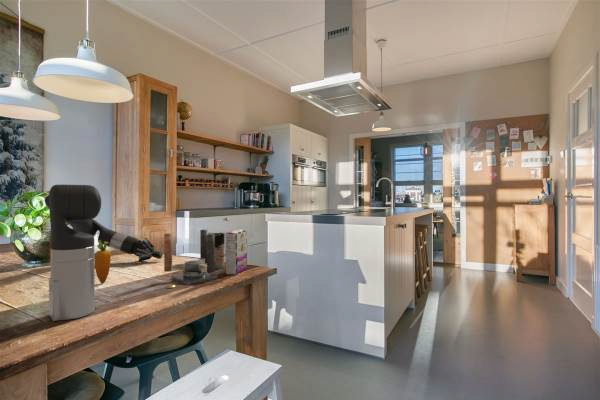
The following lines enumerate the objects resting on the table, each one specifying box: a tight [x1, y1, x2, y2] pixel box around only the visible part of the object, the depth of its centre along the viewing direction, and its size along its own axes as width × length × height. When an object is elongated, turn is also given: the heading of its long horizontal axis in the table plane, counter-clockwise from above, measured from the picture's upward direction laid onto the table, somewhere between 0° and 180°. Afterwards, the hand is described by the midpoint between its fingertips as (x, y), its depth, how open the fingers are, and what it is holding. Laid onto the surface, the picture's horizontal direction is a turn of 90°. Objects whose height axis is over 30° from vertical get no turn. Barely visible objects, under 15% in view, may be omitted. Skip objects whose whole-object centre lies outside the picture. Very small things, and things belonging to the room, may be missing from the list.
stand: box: [165, 270, 218, 289], centre depth 116 cm, size 18×13×3 cm
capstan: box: [163, 229, 216, 274], centre depth 116 cm, size 18×17×14 cm
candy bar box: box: [225, 229, 248, 276], centre depth 129 cm, size 11×5×16 cm, turn 168°
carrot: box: [94, 239, 112, 284], centre depth 110 cm, size 5×5×15 cm
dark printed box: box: [207, 230, 226, 270], centre depth 136 cm, size 7×7×15 cm
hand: (161, 256), depth 146 cm, fingers closed
